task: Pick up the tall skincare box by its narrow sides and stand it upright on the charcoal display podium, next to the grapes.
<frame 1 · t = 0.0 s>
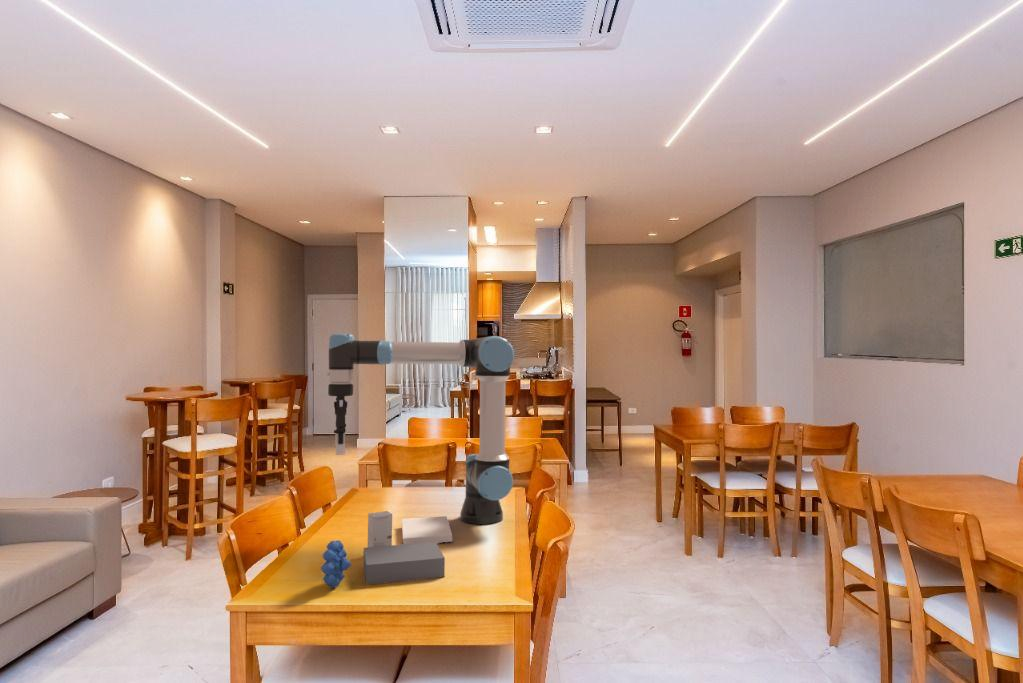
hand: (340, 451, 189), 28 cm above the table, tool pointing down, fingers open, 13 cm apart
grapes: (337, 588, 151), on the table
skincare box: (379, 556, 176), on the table
display podium: (402, 571, 163), on the table
food packaging: (425, 537, 196), on the table
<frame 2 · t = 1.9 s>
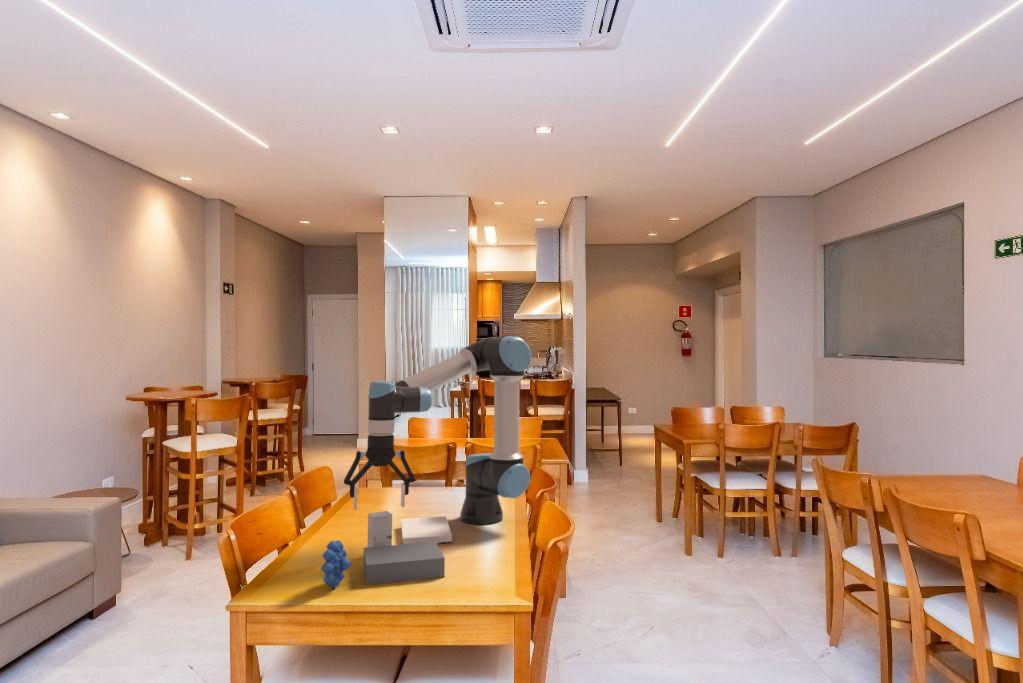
hand: (379, 507, 176), 14 cm above the table, tool pointing down, fingers open, 13 cm apart
nothing on the table moved.
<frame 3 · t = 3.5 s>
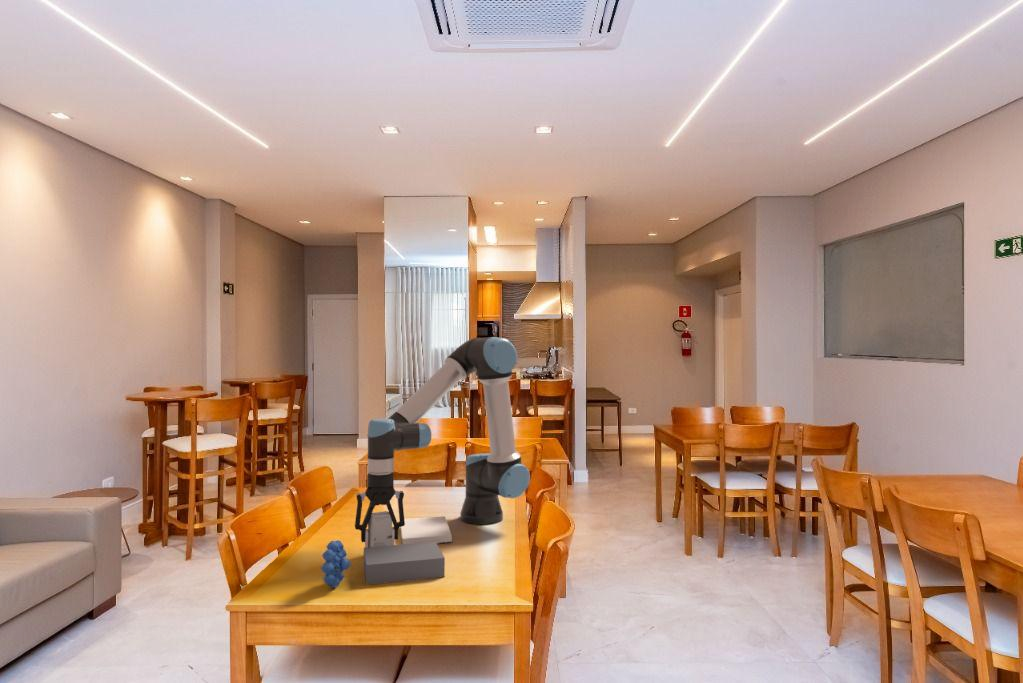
hand: (379, 551, 176), 1 cm above the table, tool pointing down, fingers closed on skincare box, 7 cm apart
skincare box: (379, 556, 176), on the table, touching gripper
everything else where it was.
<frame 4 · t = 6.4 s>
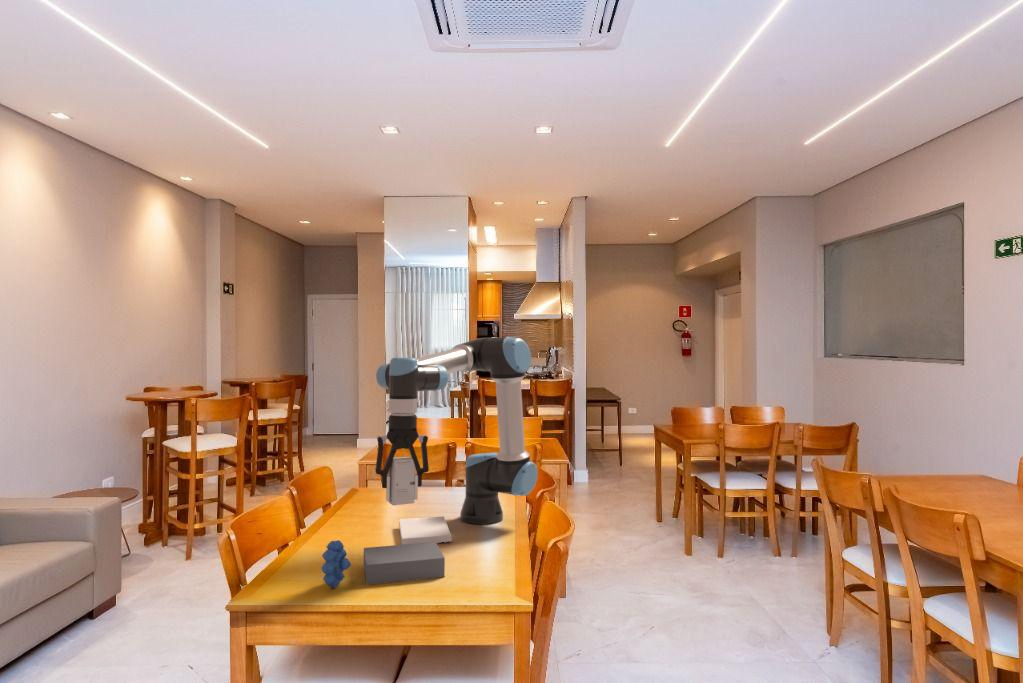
hand: (401, 499, 164), 19 cm above the table, tool pointing down, fingers closed on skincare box, 7 cm apart
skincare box: (401, 503, 164), point 18 cm above the table, touching gripper
everything else where it was.
when the fingers open (7 cm above the table, at t = 9.4 s): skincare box drops 1 cm, resting on display podium.
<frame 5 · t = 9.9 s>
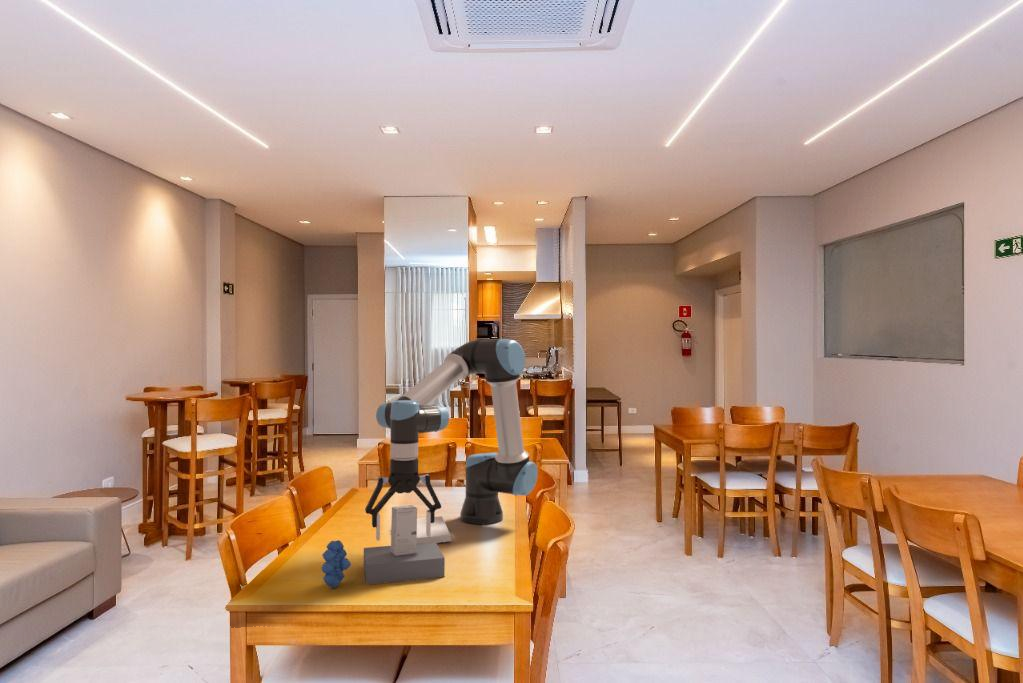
hand: (403, 537, 163), 9 cm above the table, tool pointing down, fingers open, 13 cm apart
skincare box: (403, 553, 163), point 5 cm above the table, touching display podium
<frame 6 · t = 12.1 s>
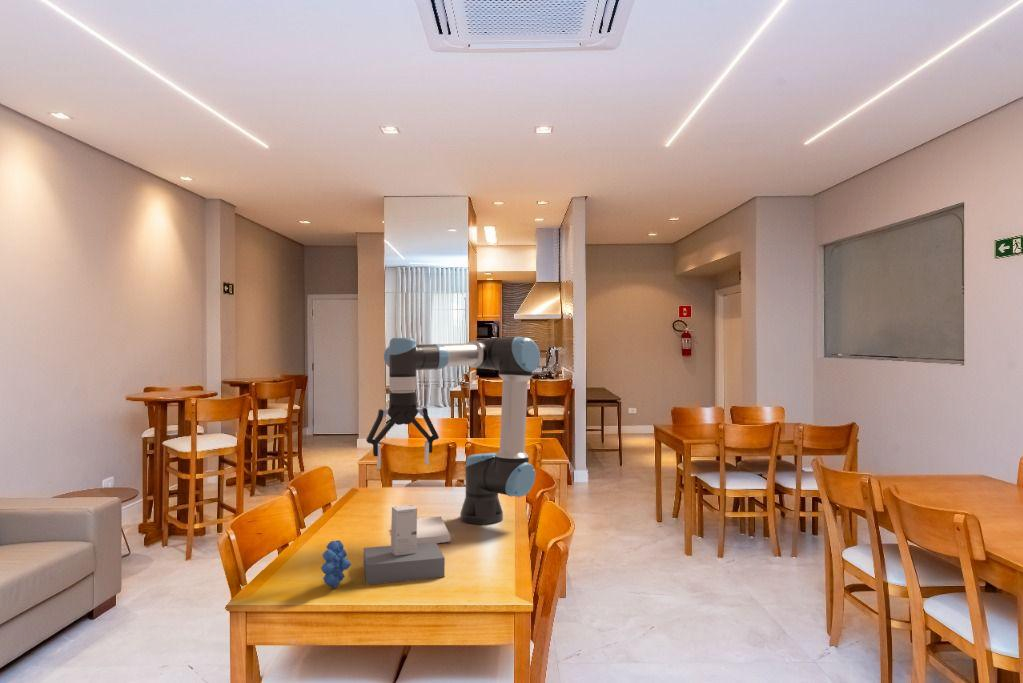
hand: (403, 466, 173), 27 cm above the table, tool pointing down, fingers open, 13 cm apart
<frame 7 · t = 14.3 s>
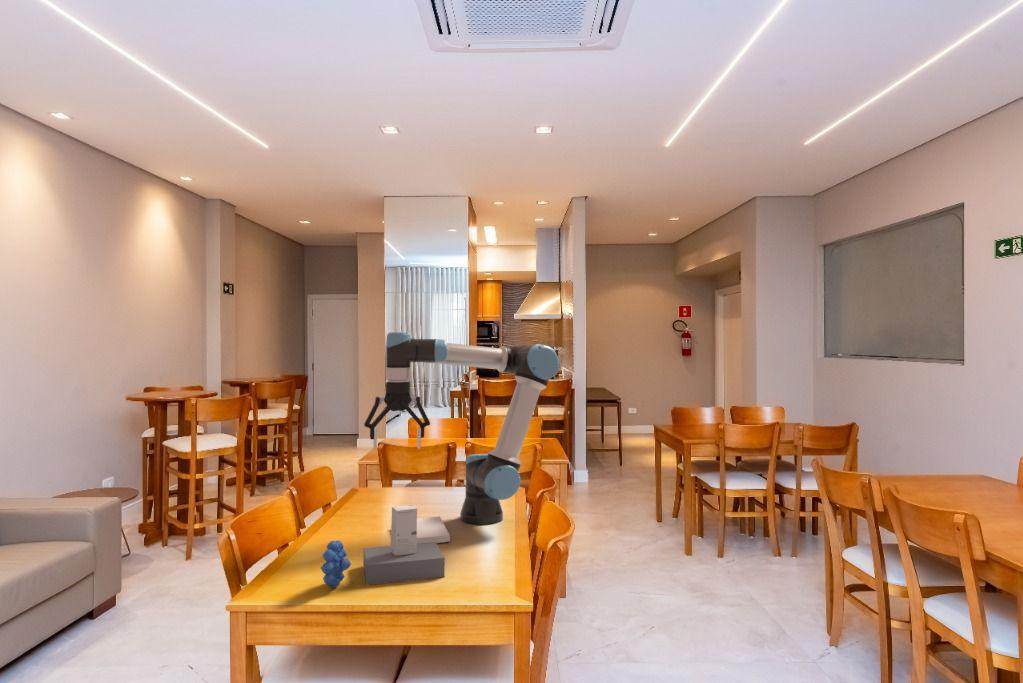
hand: (397, 449, 190), 29 cm above the table, tool pointing down, fingers open, 13 cm apart
at the end: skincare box inside the target area on the display podium (0.2 cm from its centre), point 4.8 cm above the display podium's base; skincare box tilted 0°; the gripper is holding nothing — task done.
